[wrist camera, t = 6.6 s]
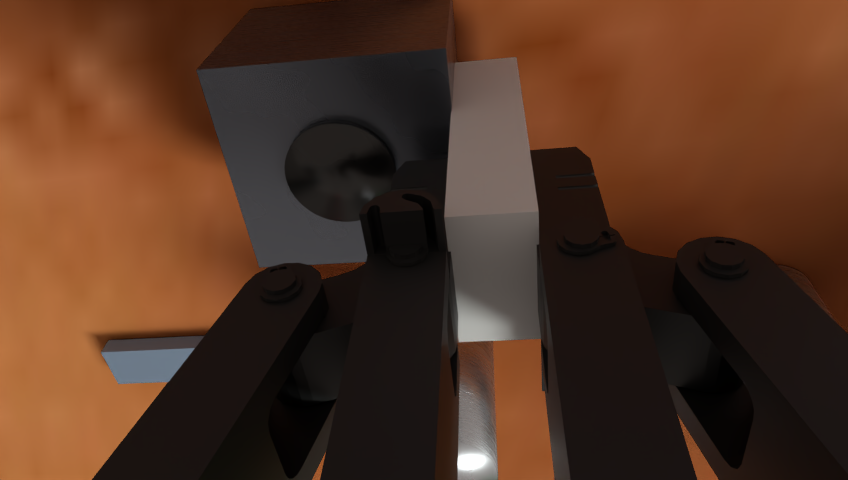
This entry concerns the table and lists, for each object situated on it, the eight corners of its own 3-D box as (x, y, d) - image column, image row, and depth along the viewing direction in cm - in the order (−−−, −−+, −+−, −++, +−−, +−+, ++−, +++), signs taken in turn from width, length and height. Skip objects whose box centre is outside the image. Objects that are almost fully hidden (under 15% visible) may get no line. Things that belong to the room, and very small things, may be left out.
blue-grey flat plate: (125, 371, 25) (118, 383, 24) (-243, -310, 13) (-270, -313, 13) (392, 360, 23) (390, 373, 23) (236, -396, 12) (227, -403, 12)
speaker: (294, 182, 19) (257, 272, 16) (250, 9, 17) (192, 74, 13) (466, 171, 19) (465, 261, 15) (451, -11, 16) (445, 52, 13)
